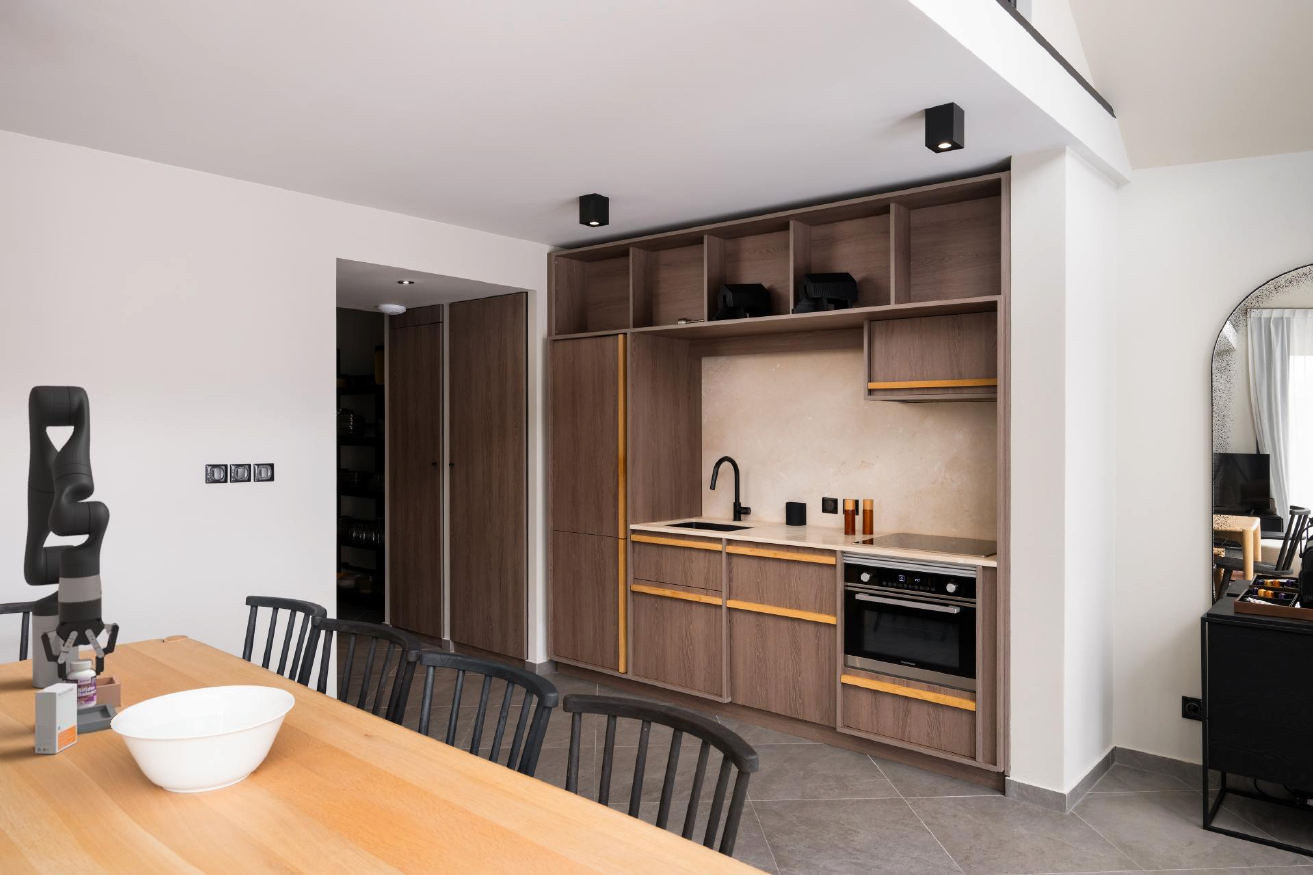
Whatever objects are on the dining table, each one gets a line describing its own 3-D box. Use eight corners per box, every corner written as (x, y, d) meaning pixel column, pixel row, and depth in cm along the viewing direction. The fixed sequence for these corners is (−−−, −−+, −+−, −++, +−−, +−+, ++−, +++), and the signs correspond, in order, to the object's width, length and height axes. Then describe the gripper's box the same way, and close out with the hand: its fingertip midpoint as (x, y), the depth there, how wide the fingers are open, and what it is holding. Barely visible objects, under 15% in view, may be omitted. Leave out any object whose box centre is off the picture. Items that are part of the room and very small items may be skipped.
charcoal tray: (44, 723, 180) (44, 713, 180) (111, 711, 188) (111, 702, 188) (48, 740, 171) (48, 730, 171) (118, 726, 179) (118, 717, 179)
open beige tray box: (73, 703, 193) (73, 681, 193) (115, 696, 198) (115, 675, 198) (77, 713, 187) (76, 690, 186) (120, 705, 192) (120, 683, 191)
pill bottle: (81, 711, 176) (80, 665, 176) (59, 709, 177) (59, 663, 177) (102, 703, 182) (102, 658, 181) (81, 701, 183) (81, 656, 182)
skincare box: (56, 754, 164) (55, 692, 164) (34, 754, 164) (33, 692, 164) (78, 742, 170) (77, 682, 170) (57, 742, 170) (56, 682, 170)
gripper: (118, 589, 186) (118, 667, 187) (36, 598, 177) (37, 679, 178) (122, 595, 181) (123, 675, 181) (39, 604, 172) (39, 688, 172)
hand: (80, 676), depth 179 cm, fingers closed on pill bottle, 5 cm apart
